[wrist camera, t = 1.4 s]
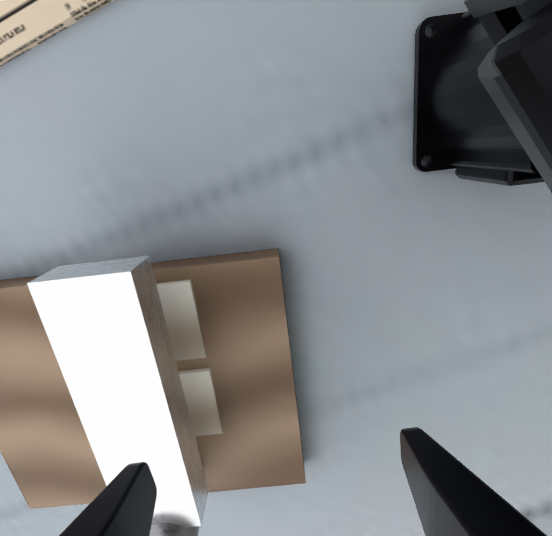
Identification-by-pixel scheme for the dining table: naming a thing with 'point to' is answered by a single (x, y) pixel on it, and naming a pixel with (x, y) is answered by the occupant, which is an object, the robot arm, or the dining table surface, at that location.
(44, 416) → the label board
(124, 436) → the swing bar
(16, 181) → the dining table surface
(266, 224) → the dining table surface
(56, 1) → the beige long curved strip
